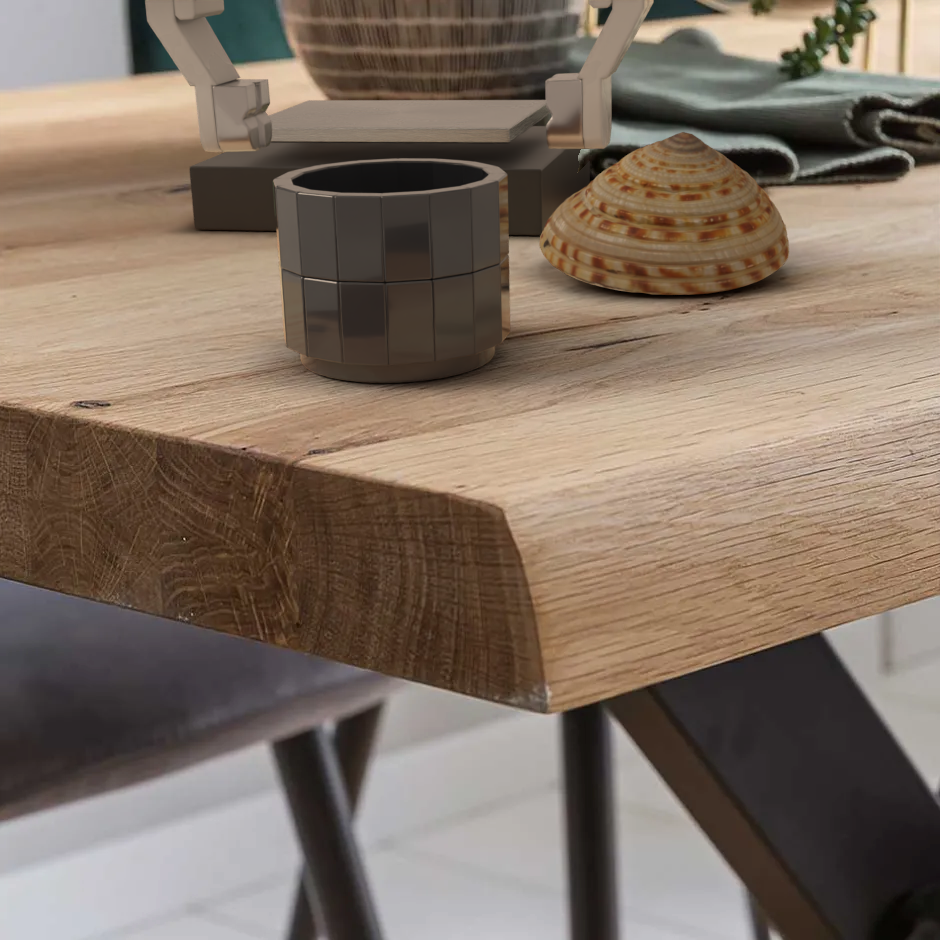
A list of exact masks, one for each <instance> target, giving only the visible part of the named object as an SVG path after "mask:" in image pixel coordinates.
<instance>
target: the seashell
mask: <svg viewBox="0 0 940 940" xmlns="http://www.w3.org/2000/svg"><path fill="white" fill-rule="evenodd" d="M538 242H539V244H538V247H539V249H540V251H541V254H542V255H543V257H544V258H545V259H546V260H547V261H548V263H550V264H551V266H552V267H554V268H556V269H557V270H559V271H560V272H562V273H563V274H565V275H567V276H568V277H571V278H572V279H575V280H577V281H580V282H583V283H586V284H589V285H593V286H597V287H600V288H605V289H610V290H615V291H618V292H619V291H621V292H627V293H642V294H646V295H647V294H648V295H659V296H660V295H662V296H663V295H665V296H673V295H674V296H675V295H676V296H677V295H678V296H679V295H681V296H683V295H685V296H687V295H704V294H712V293H718V292H719V293H720V292H725V291H731V290H735V289H739V288H743V287H746V286H749V285H752V284H755V283H757V282H760V281H761V280H762V281H763V280H764V279H766V278H767V277H769V276H770V275H772V274H774V273H776V271H779V270H780V269H781V268H782V267H783V266H784V265H785V264H786V262H787V260H788V259H789V255H790V242H789V238H788V231H787V226H786V224H785V222H784V220H783V218H782V215H781V213H780V211H779V210H778V208H777V206H776V204H775V203H774V202H773V200H771V198H770V196H769V195H768V194H767V192H766V191H765V190H764V189H763V188H762V187H761V186H760V184H758V183H757V181H756V179H754V178H753V177H752V176H751V175H750V174H749V173H748V172H747V171H746V170H744V169H742V168H741V167H740V166H738V165H737V164H736V163H734V162H733V161H732V160H730V159H729V158H727V156H725V155H724V154H723V153H721V152H720V151H718V150H716V149H715V148H713V147H712V146H710V145H708V144H707V143H705V142H704V141H703V140H702V139H700V138H699V137H697V136H696V135H695V134H693V133H690V132H686V131H681V132H678V133H676V134H673V135H671V136H669V137H667V138H664V139H661V140H657V141H654V142H653V143H649V144H646V145H645V146H643V147H640V148H637V149H634V150H633V151H631V152H630V153H628V154H627V155H624V157H622V158H621V159H619V161H618V162H615V163H614V164H612V165H611V166H609V167H607V168H606V169H604V170H603V171H601V173H599V174H597V176H595V178H594V179H593V180H590V182H589V183H588V185H587V186H586V187H584V188H583V189H581V190H580V191H578V192H576V193H575V194H573V195H572V196H571V197H569V198H567V199H566V200H565V201H564V202H563V203H562V204H561V205H560V206H559V207H558V208H557V209H556V210H555V211H554V212H553V214H552V215H551V217H550V218H549V219H548V220H547V222H546V224H545V227H544V230H543V232H542V234H541V235H539V241H538Z"/></svg>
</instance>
